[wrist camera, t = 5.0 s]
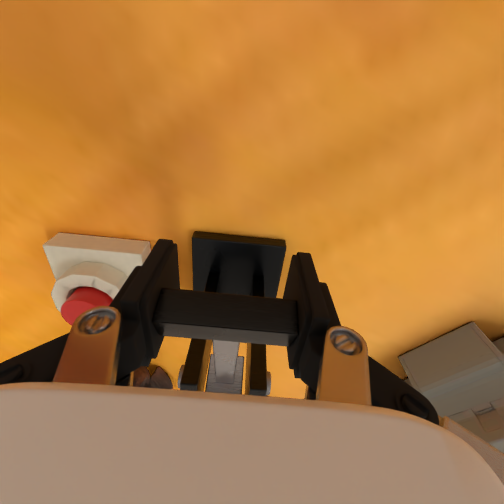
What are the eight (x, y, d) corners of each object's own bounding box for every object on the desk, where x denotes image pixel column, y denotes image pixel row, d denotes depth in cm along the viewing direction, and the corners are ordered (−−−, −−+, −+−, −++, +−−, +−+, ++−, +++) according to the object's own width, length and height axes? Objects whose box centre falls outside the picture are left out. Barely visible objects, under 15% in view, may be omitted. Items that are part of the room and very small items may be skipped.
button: (68, 283, 22) (54, 298, 20) (112, 287, 22) (101, 302, 20) (79, 314, 24) (67, 329, 22) (119, 318, 24) (110, 333, 22)
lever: (165, 274, 10) (145, 337, 8) (296, 287, 10) (300, 350, 9) (193, 363, 19) (186, 400, 18) (260, 369, 20) (259, 406, 18)
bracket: (194, 230, 23) (145, 344, 13) (285, 239, 23) (305, 357, 13) (196, 318, 29) (163, 442, 19) (268, 325, 29) (273, 450, 19)
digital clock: (392, 391, 36) (437, 494, 27) (367, 356, 32) (410, 464, 23) (531, 349, 30) (644, 460, 22) (522, 302, 27) (656, 414, 18)
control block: (58, 232, 23) (25, 257, 20) (150, 240, 24) (132, 267, 20) (83, 305, 28) (60, 336, 25) (159, 312, 28) (145, 343, 25)
